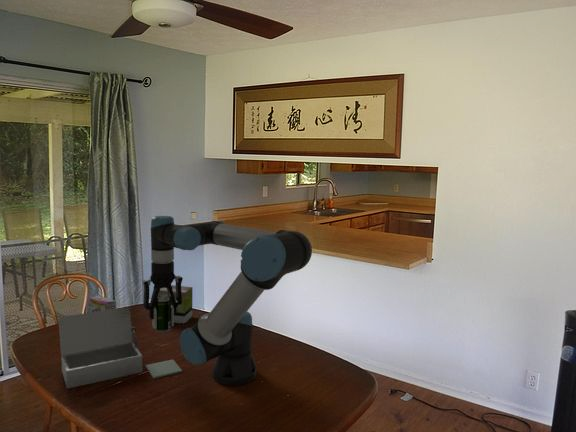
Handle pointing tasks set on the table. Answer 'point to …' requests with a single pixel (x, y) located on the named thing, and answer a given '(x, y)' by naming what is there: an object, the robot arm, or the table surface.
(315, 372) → the table surface
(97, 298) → the candy bar box
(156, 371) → the pad
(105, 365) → the case
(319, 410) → the table surface
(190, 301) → the tea box
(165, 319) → the beer can
